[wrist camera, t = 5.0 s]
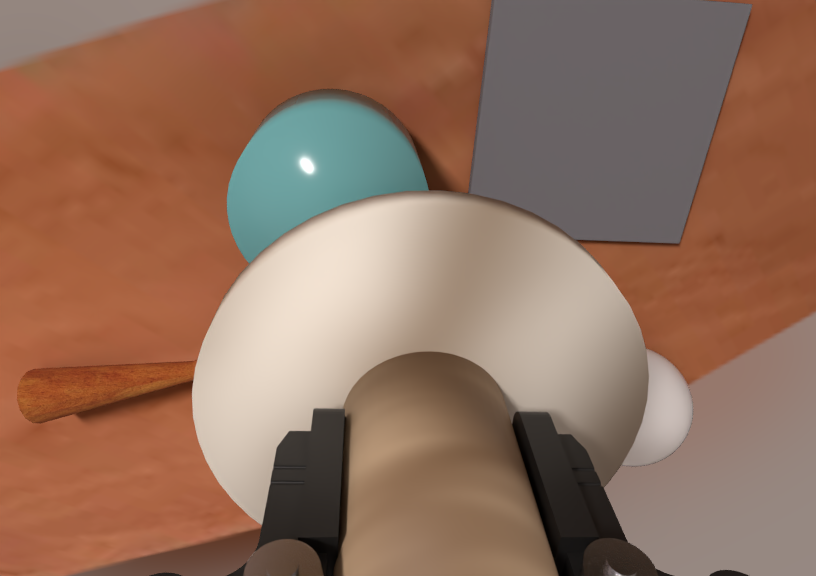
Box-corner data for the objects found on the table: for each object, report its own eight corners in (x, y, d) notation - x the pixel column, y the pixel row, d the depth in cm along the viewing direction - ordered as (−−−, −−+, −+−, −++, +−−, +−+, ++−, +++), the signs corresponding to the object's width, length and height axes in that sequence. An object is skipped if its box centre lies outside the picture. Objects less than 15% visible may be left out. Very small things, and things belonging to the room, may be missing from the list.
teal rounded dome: (423, 86, 32) (440, 117, 25) (411, 245, 36) (422, 304, 30) (247, 76, 31) (219, 105, 25) (255, 239, 35) (233, 299, 29)
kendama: (-17, 374, 33) (334, 315, 32) (48, 332, 39) (350, 280, 37) (25, 465, 35) (359, 415, 33) (81, 413, 41) (370, 367, 39)
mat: (745, 3, 31) (752, 4, 30) (674, 239, 37) (679, 243, 36) (493, -17, 29) (496, -16, 29) (463, 231, 36) (464, 235, 35)
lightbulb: (537, 286, 38) (598, 398, 28) (636, 282, 38) (731, 391, 28) (527, 369, 41) (581, 496, 31) (620, 365, 41) (701, 489, 31)
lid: (684, 201, 14) (946, 398, 7) (585, 539, 19) (692, 823, 13) (178, 179, 13) (-1, 383, 7) (220, 540, 18) (142, 846, 12)
